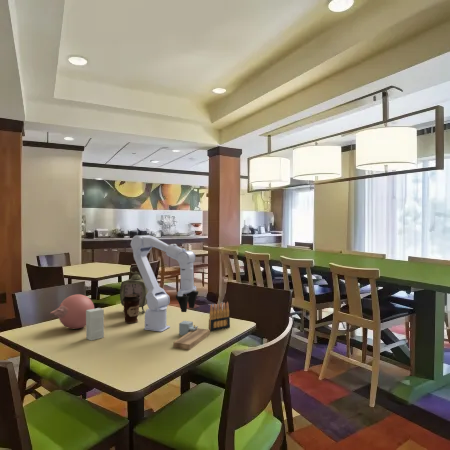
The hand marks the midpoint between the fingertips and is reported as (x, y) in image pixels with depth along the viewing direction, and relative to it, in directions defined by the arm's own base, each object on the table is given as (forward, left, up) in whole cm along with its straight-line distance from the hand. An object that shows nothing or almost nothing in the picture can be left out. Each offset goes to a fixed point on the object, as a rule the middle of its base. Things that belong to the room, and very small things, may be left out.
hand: (187, 309), depth 154 cm
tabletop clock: (-43, +24, -11) cm, 50 cm away
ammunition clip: (+10, +12, -11) cm, 19 cm away
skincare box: (-34, -19, -11) cm, 40 cm away
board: (+6, -7, -11) cm, 14 cm away
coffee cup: (-34, +7, -11) cm, 36 cm away
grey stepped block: (0, 0, -11) cm, 11 cm away
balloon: (-52, -13, -11) cm, 55 cm away
